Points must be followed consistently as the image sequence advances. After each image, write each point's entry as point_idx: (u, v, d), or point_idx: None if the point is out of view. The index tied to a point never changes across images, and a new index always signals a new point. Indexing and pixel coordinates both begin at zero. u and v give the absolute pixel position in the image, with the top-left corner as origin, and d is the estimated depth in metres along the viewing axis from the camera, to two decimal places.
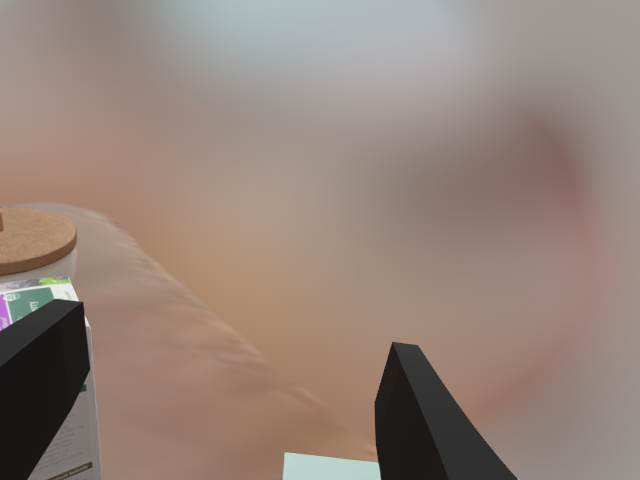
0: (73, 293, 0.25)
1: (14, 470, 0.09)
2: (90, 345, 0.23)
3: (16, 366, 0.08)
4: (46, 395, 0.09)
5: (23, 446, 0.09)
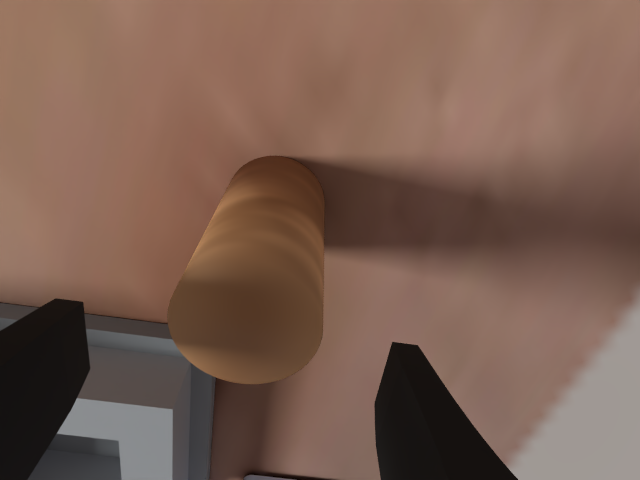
0: None
1: (14, 470, 0.09)
2: None
3: (16, 366, 0.08)
4: (46, 395, 0.09)
5: (23, 446, 0.09)
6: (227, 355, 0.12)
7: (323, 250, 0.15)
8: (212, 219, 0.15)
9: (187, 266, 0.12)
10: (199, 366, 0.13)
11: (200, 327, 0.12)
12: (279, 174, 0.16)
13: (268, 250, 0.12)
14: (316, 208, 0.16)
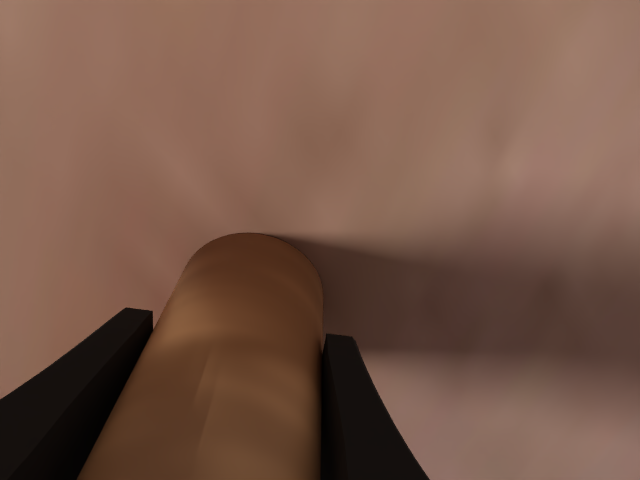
0: None
1: None
2: None
3: (104, 377, 0.08)
4: None
5: None
6: None
7: (320, 414, 0.09)
8: (134, 370, 0.09)
9: None
10: None
11: None
12: (252, 275, 0.10)
13: None
14: (310, 330, 0.10)
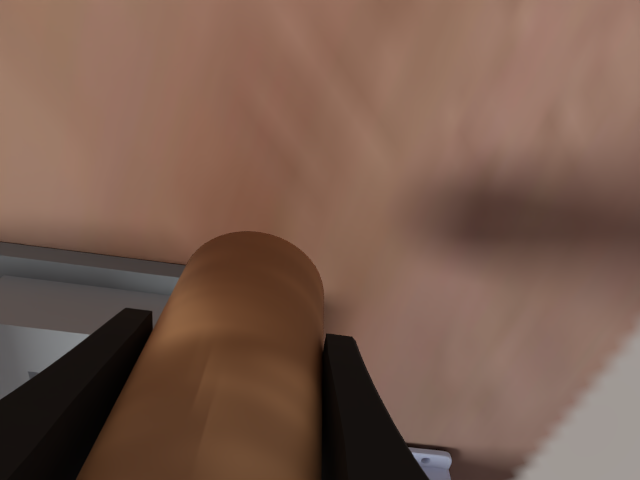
0: None
1: None
2: None
3: (103, 376, 0.08)
4: None
5: None
6: None
7: (321, 413, 0.09)
8: (135, 368, 0.09)
9: None
10: None
11: None
12: (252, 272, 0.10)
13: None
14: (311, 329, 0.10)
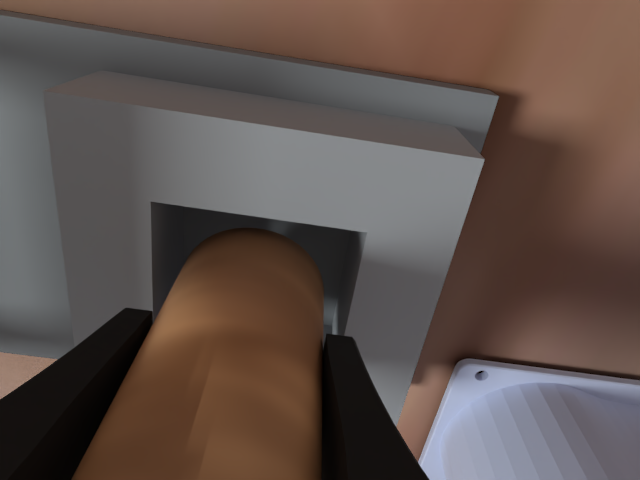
0: None
1: None
2: None
3: (103, 377, 0.08)
4: None
5: None
6: None
7: (321, 414, 0.09)
8: (137, 360, 0.09)
9: None
10: None
11: None
12: (257, 269, 0.10)
13: None
14: (314, 329, 0.10)
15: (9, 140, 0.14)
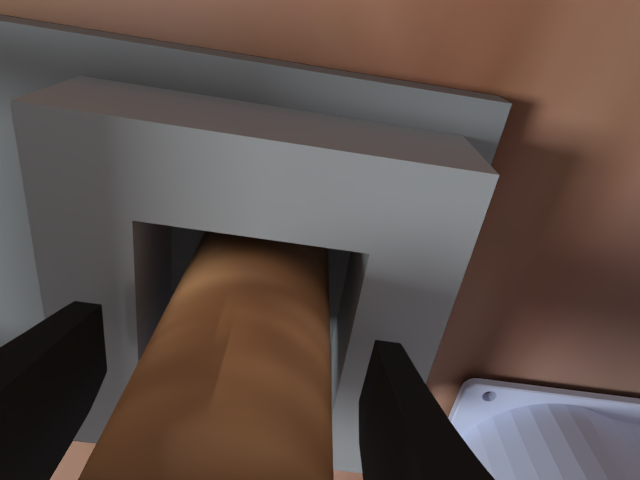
0: None
1: (36, 473, 0.09)
2: None
3: (39, 369, 0.08)
4: (66, 398, 0.09)
5: (45, 449, 0.09)
6: None
7: (330, 358, 0.10)
8: (170, 307, 0.10)
9: (117, 407, 0.08)
10: None
11: None
12: None
13: (251, 402, 0.07)
14: (322, 289, 0.12)
15: None
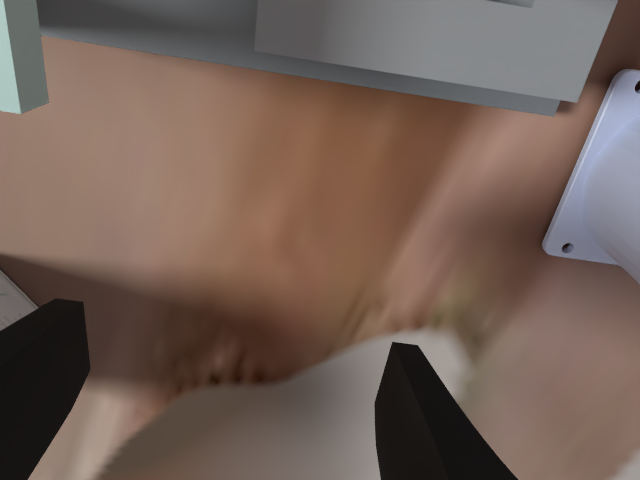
0: None
1: (14, 470, 0.09)
2: None
3: (16, 366, 0.08)
4: (46, 395, 0.09)
5: (23, 446, 0.09)
6: None
7: None
8: None
9: None
10: None
11: None
12: None
13: None
14: None
15: None
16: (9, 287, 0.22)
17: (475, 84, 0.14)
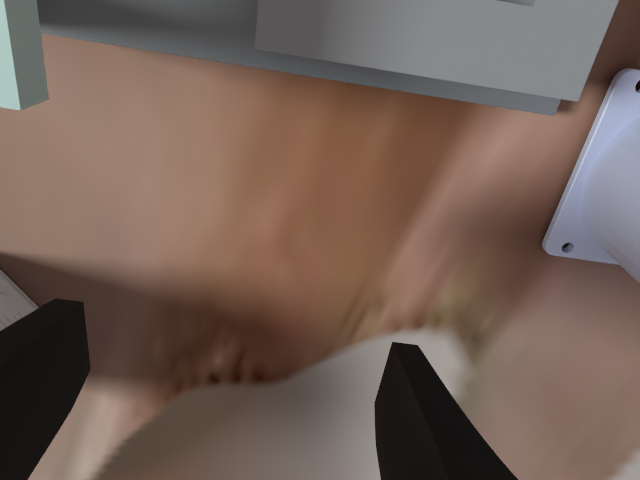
0: None
1: (14, 470, 0.09)
2: None
3: (16, 366, 0.08)
4: (46, 395, 0.09)
5: (23, 446, 0.09)
6: None
7: None
8: None
9: None
10: None
11: None
12: None
13: None
14: None
15: None
16: (8, 286, 0.22)
17: (476, 83, 0.14)
